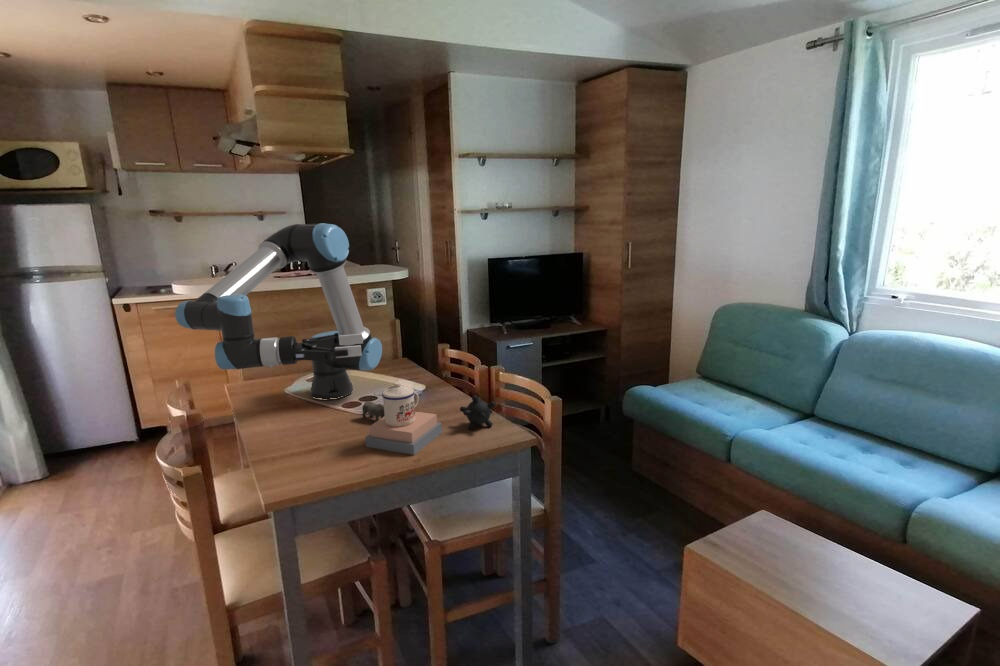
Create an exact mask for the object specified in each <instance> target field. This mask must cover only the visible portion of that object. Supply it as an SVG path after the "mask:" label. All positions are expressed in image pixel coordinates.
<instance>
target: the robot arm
mask: <svg viewBox="0 0 1000 666" xmlns="http://www.w3.org/2000/svg"><path fill="white" fill-rule="evenodd" d="M349 248H350V243H349V239H348V236H347V234H346V233H345V231H344V230H343V229H342V228H341V227H340V226H338V225H336V224H331V223H326V222H325V223H324V222H323V223H321V222H320V223H306V224H305V223H303V224H300V223H298V224H297V223H295V224H294V223H293V224H291V225H288V226H285V227H283V228H282V229H281V228H280V229H278V231H276V232H274V233H272V234H271V235H270V236H268V237H267V238H266V239H264V240H263V241H262V242H261V243H259V245H258V249H257V250H256V251H255V252H254V253H252V255H250V256H249V257H247V258H246V259H245V260H244V261H242V262H241V263H240V264H239V265H238V266H236V267H235V268H234V269H232V270H231V271H230V272H229V273H228V274H227V275H225V276H224V277H223V278H221V279H220V280H219V281H218V282H217V283H215V284H214V285H213V286H210V288H209V289H208V290H207V291H205V292H204V293H203V294H202V295H200V296H198V298H196V299H195V300H194V299H193V300H192V299H191V300H185V301H182V302H180V303H179V304H178V305H177V307H176V309H175V312H174V317H175V321H176V322H177V323H178V325H179V326H180V327H183V328H186V329H190V330H197V331H198V330H199V331H200V330H201V331H219V332H221V337H222V341H219V342H216V345H215V347H214V360H215V363H216V365H217V367H218V368H219V369H221V370H224V371H225V370H243V369H252V368H259V367H261V368H262V367H269V368H270V369H271V368H273V367H274V366H280V365H281V364H282V365H283V366H285V365H296V364H297V363H298V361H299V362H300V361H311V365H312V366H311V367H312V371H313V377H312V381H311V387H310V397H311V396H312V397H315V398H322V399H330V398H338V397H341V396H345V395H347V394H349V393H351V392H352V391H353V392H354V385H353V383H352V382H351V380H350V377H349V374H348V371H347V370H352V371H353V370H355V371H361V372H363V371H372V370H374V369H375V368H377V366H378V365H379V363H380V361H381V358H382V355H383V344H382V342H381V340H380V339H378V338H377V337H372V333H371V331H370V329H369V328H368V327H365V326H364V324H363V322H362V318H361V314H360V312H359V309H358V305H357V303H356V301H355V297H354V295H353V292H352V289H351V285H350V282H349V280H348V275H347V273H346V270H345V268H344V267H345V264H346V263H347V257H348V255H349V253H350V250H349ZM295 262H307V265H308V268H309V270H310V272H311V273H314V274H316V275H317V278H318V281H319V282H320V286H321V289H322V292H323V293H324V297H325V299H326V302H327V305H328V308H329V310H330V313H331V315H332V318H333V321H334V323H335V327H336V329H337V330H331V331H326V332H321V333H318V334H317V333H316V334H314V335H312V336H311V337H310V338H303V339H301V342H297V339H296V337H295V336H294V335H292V336H291V335H290V336H289V335H288V336H281V337H280V338H278V337H277V336H276V337H264V338H256V337H255V332H254V323H253V316H252V315H253V314H252V309H251V305H250V299H249V297H248V296H247V295H248V294H249V293H250V292H251V291H253V290H254V289H255V288H256V287H258V285H260V284H261V283H262V282H264V280H265V279H266V278H268V277H269V276H270V275H271V274H272V273H273V272H275V271H276V270H277V269H278V270H281V269H283V268H285V266H287V265H289V264H291V263H295ZM312 397H311V398H312Z"/></svg>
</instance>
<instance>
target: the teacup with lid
mask: <svg viewBox="0 0 1000 666" xmlns="http://www.w3.org/2000/svg"><path fill="white" fill-rule="evenodd" d="M381 396H382V400H383V405H384V414H385V423H386V424H387V425H389V426H393V427H400V426H406V425H409V424H411V423H413V422H414V421H415V412H416V407H417V405H418V403H419V400H420V397H419V393H418V392H417V391H415V390H414V389H413V388H412V387H410V386H405V385H403V384H402V382H400V381H399V382H397V381H396V382H394V383H393V385H392V386H390V387H388V388H386V389H385V390H383V392H382V394H381Z"/></svg>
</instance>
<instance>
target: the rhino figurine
mask: <svg viewBox="0 0 1000 666" xmlns="http://www.w3.org/2000/svg"><path fill="white" fill-rule="evenodd" d="M361 409H362V417H361V419H362V420H367V416H366V414H368V415H369V418H371V419H374V418H375V419H374V423H375V422H377V421H378V420H379V417H380V419H382V418H383V417H385V414H384V404H382V403H378V404H377V403H375V402H373V401H366V402H364V404H363V405H362V408H361Z"/></svg>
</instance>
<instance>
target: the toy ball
mask: <svg viewBox="0 0 1000 666" xmlns="http://www.w3.org/2000/svg"><path fill="white" fill-rule="evenodd" d="M471 400H472V401H471V402H469V403H468V405H467V406H460V407H459V410H460V412H461V413H463V414H462V415H464V416H466V418H467V420H468V421H469V423H468V424H467V429H468V430H470V431H471V430H473V428H474V427H475V425H481V426H482V425H483V424H485V425H486V426H487V427H488V428H491V427H492V426H493V423H492V421H491V420H490V417H491V414H493V409H492V408H494V407H495V406H496V402H495V401H491V402H489V403H487V402H486V401H485V400H482V399H481V397H480V396H477V395H474V394H473V395H472V397H471Z"/></svg>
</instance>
